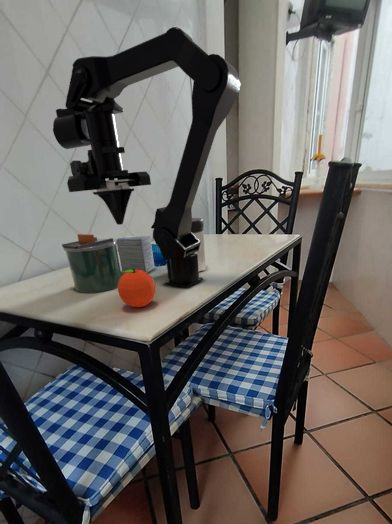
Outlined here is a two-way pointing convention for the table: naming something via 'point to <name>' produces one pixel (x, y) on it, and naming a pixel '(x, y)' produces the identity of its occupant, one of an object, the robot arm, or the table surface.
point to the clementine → (136, 288)
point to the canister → (94, 265)
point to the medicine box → (135, 253)
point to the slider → (81, 241)
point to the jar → (198, 232)
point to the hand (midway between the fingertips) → (119, 224)
